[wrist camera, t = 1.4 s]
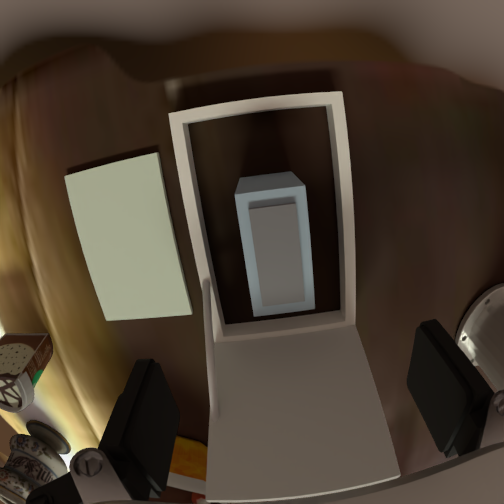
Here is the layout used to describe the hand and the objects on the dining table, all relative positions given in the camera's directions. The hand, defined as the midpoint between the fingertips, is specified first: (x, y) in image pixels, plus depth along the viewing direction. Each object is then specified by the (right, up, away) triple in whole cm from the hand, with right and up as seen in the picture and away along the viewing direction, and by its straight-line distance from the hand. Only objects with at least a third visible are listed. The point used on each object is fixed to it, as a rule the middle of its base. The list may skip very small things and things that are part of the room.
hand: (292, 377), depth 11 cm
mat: (-13, +5, +19) cm, 24 cm away
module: (0, +7, +19) cm, 20 cm away
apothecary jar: (-39, -30, +33) cm, 60 cm away
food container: (-31, -9, +25) cm, 41 cm away
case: (+1, +5, +19) cm, 20 cm away
